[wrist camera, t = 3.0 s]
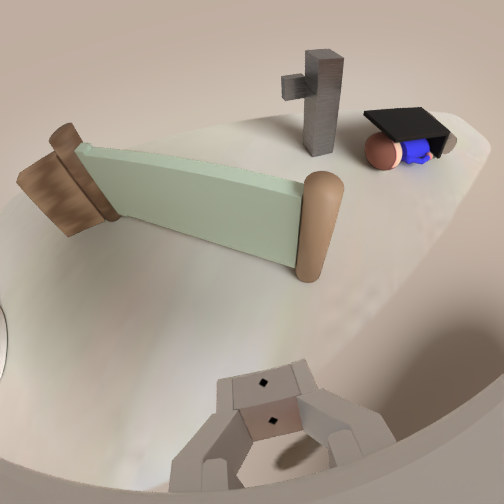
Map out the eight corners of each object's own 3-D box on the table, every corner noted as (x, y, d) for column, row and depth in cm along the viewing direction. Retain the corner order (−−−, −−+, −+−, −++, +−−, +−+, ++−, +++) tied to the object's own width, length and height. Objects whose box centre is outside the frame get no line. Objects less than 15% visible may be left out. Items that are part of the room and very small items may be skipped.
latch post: (295, 161, 34) (296, 61, 22) (283, 143, 36) (279, 50, 24) (332, 152, 34) (343, 58, 22) (318, 135, 36) (324, 46, 24)
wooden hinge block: (67, 241, 32) (4, 175, 19) (69, 224, 33) (12, 158, 21) (125, 216, 32) (69, 133, 20) (124, 199, 34) (74, 118, 22)
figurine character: (417, 141, 37) (349, 151, 34) (433, 105, 31) (363, 103, 28) (444, 169, 34) (379, 186, 31) (464, 132, 27) (401, 137, 24)
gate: (117, 220, 32) (68, 151, 21) (127, 205, 33) (83, 135, 22) (316, 286, 25) (339, 206, 15) (323, 263, 26) (347, 177, 16)
